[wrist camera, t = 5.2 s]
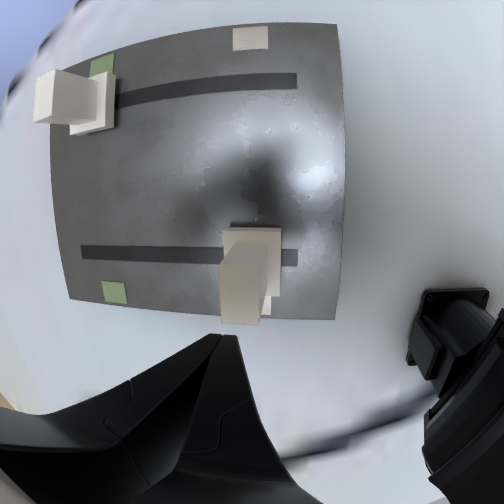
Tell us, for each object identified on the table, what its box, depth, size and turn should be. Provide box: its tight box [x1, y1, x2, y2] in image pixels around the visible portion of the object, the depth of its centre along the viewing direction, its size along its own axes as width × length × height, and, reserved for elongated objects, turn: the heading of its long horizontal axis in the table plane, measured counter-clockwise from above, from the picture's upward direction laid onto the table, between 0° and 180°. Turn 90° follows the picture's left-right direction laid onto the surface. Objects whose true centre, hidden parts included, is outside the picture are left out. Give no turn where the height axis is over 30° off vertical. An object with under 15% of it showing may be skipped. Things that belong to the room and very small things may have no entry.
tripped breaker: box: [218, 227, 281, 325], centre depth 14 cm, size 3×4×5 cm
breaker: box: [33, 69, 116, 136], centre depth 13 cm, size 3×4×5 cm
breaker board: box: [50, 22, 345, 320], centre depth 17 cm, size 20×18×2 cm
